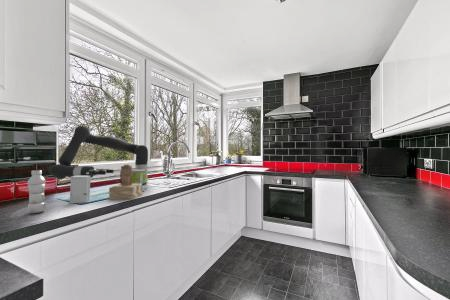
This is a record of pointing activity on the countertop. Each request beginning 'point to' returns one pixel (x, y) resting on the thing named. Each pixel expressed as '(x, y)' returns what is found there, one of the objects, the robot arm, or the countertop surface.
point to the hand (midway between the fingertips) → (109, 171)
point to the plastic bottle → (36, 192)
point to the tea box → (138, 177)
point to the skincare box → (80, 189)
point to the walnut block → (126, 175)
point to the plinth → (125, 191)
